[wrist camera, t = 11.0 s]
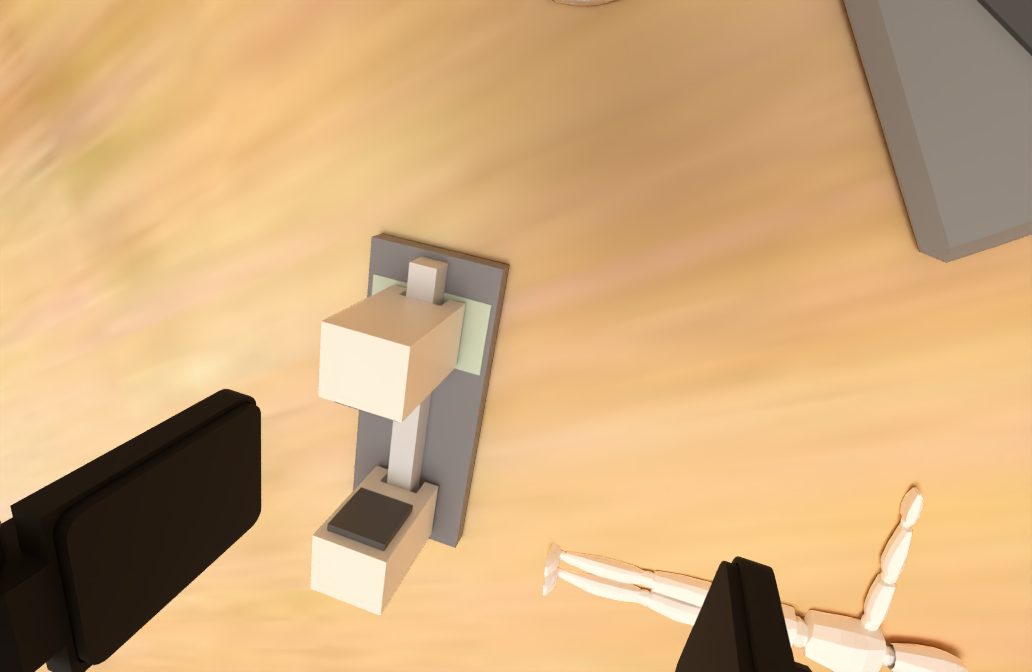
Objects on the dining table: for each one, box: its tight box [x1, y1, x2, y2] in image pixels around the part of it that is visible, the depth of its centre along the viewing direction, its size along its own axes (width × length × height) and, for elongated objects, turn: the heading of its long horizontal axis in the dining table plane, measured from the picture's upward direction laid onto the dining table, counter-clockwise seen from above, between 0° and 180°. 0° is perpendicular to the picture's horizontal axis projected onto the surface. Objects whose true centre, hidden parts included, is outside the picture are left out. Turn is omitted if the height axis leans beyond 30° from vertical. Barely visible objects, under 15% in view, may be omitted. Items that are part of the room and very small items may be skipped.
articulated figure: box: [543, 488, 968, 672], centre depth 41 cm, size 27×4×30 cm
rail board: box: [311, 234, 509, 616], centre depth 39 cm, size 25×10×11 cm, turn 170°
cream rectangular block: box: [319, 285, 465, 423], centre depth 36 cm, size 6×6×9 cm
